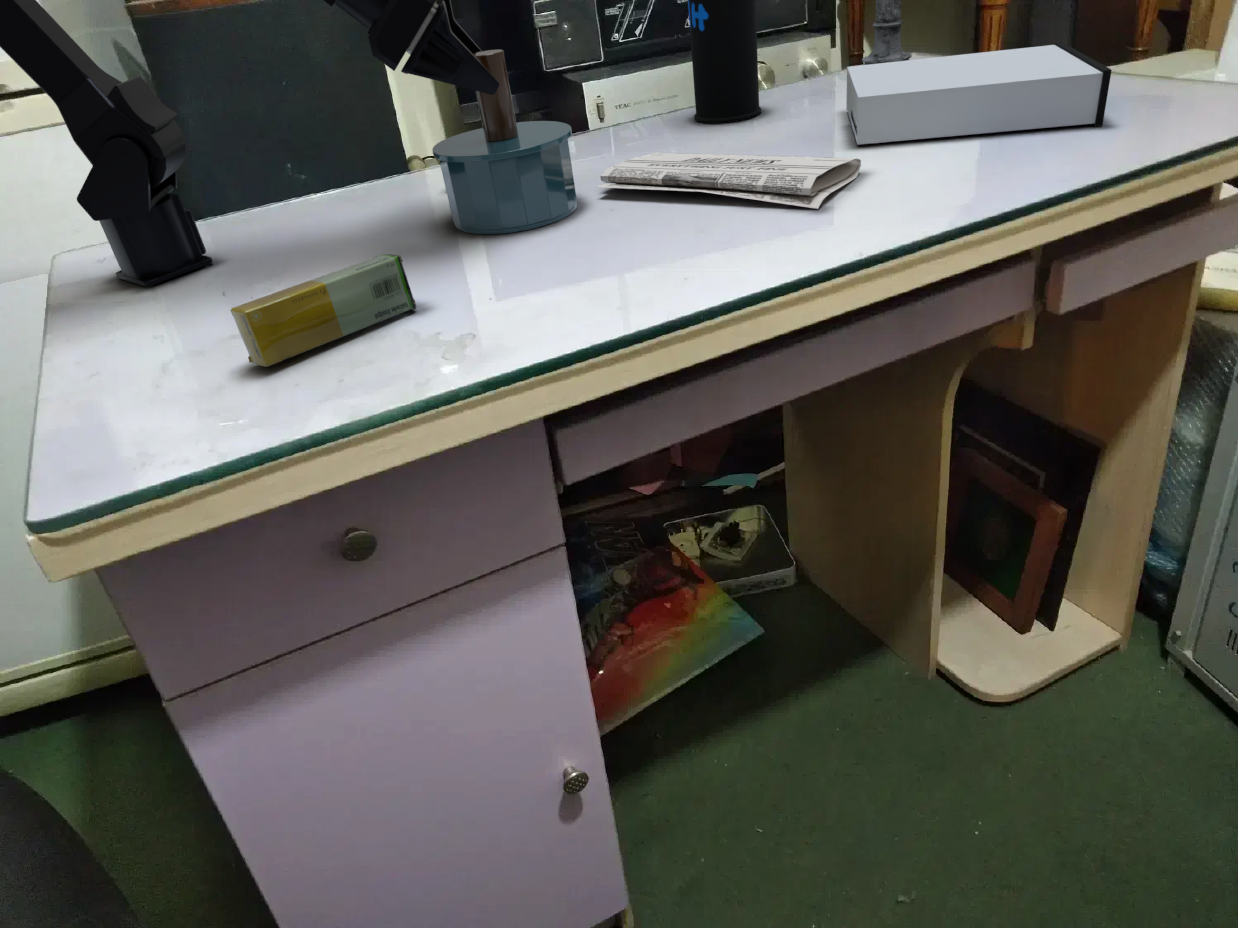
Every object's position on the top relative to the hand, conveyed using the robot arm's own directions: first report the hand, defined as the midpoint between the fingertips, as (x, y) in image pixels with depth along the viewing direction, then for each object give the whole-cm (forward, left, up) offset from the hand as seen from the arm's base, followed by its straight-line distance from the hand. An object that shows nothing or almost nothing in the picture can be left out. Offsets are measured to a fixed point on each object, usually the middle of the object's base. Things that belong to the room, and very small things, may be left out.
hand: (495, 81), depth 76 cm
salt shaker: (+55, -11, -12) cm, 57 cm away
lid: (0, 0, -5) cm, 5 cm away
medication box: (-26, -8, -12) cm, 30 cm away
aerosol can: (+39, +2, -12) cm, 41 cm away
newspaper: (+13, -15, -12) cm, 23 cm away
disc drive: (+41, -26, -12) cm, 50 cm away
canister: (0, 0, -11) cm, 12 cm away
